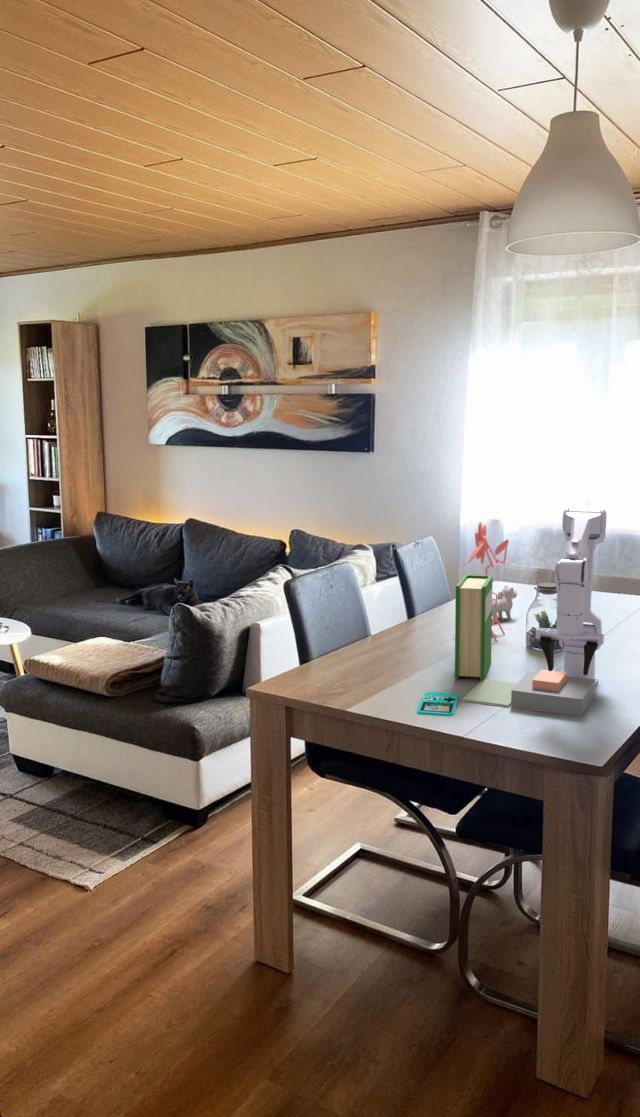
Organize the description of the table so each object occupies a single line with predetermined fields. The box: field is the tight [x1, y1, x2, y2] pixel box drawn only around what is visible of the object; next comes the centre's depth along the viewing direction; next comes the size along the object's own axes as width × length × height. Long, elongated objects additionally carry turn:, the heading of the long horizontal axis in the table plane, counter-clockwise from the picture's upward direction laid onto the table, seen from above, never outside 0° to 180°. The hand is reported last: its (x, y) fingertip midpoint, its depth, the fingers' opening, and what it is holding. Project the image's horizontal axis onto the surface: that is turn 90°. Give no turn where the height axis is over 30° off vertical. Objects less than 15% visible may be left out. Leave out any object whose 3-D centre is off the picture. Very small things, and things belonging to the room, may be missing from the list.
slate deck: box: [510, 671, 596, 717], centre depth 210 cm, size 16×16×4 cm
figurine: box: [452, 521, 513, 643], centre depth 266 cm, size 15×26×35 cm, turn 155°
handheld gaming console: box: [416, 691, 460, 717], centre depth 210 cm, size 8×1×15 cm
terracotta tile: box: [532, 669, 567, 691], centre depth 210 cm, size 9×6×2 cm, turn 153°
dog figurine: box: [492, 585, 518, 624], centre depth 289 cm, size 5×13×11 cm, turn 127°
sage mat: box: [462, 678, 518, 708], centre depth 217 cm, size 17×11×1 cm, turn 153°
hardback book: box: [454, 574, 493, 681], centre depth 233 cm, size 18×7×24 cm, turn 164°
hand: (568, 672), depth 199 cm, fingers open, 7 cm apart
